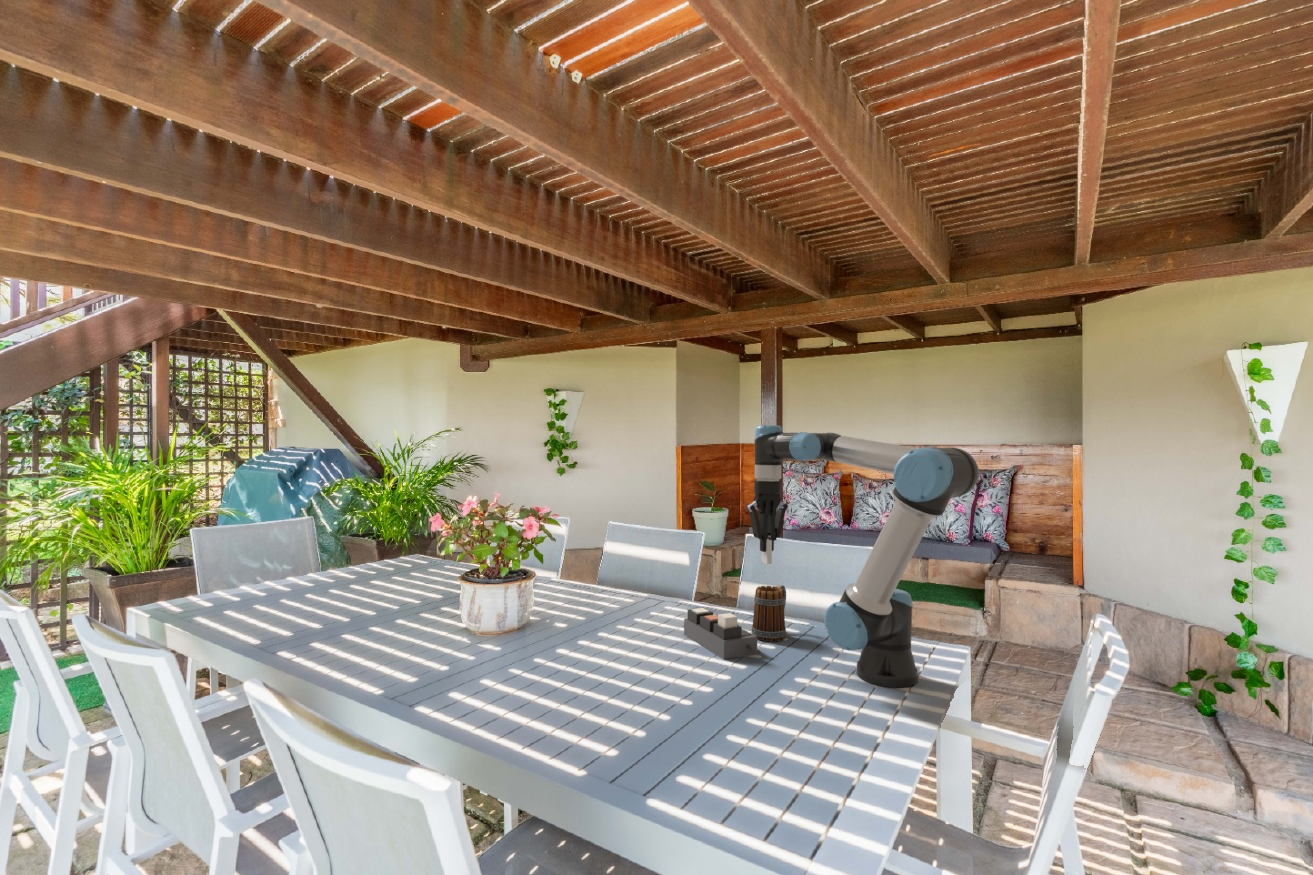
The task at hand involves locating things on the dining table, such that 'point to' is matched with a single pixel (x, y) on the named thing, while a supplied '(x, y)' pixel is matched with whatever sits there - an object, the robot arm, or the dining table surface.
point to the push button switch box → (719, 636)
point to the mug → (769, 613)
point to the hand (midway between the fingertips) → (766, 562)
